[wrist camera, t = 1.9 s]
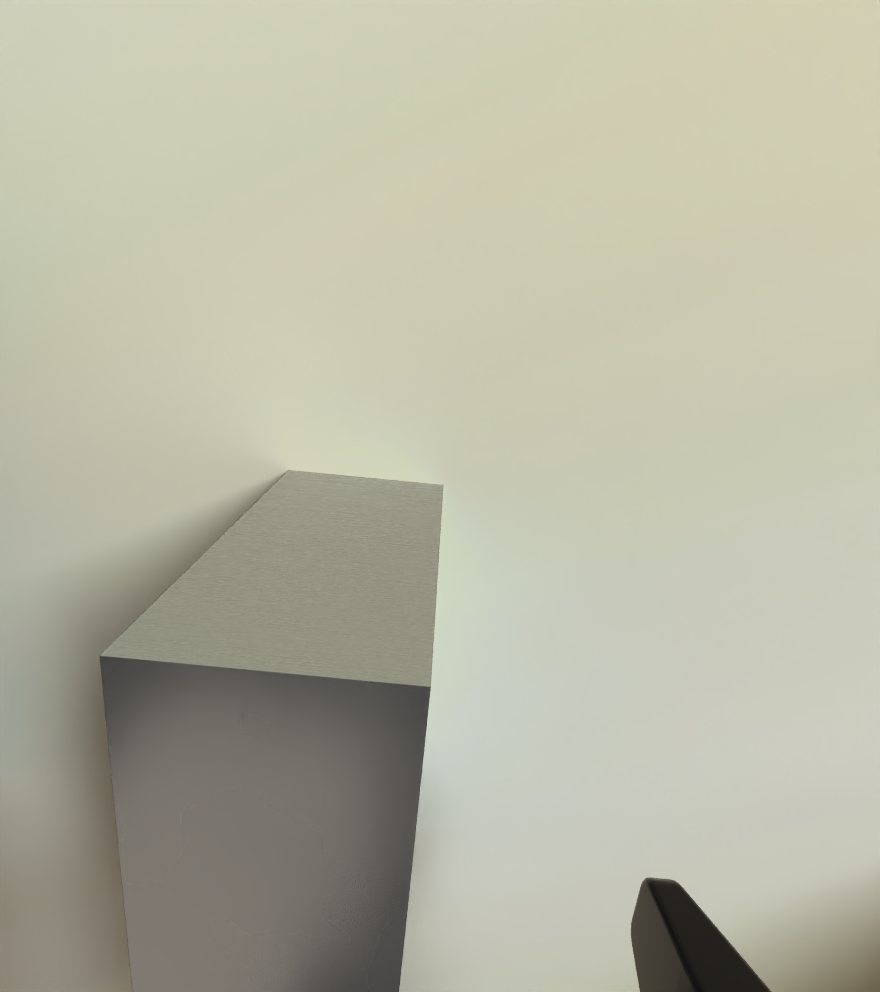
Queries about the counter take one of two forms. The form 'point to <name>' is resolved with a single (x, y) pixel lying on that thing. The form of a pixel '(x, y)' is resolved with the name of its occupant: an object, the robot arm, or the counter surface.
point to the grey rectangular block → (278, 744)
